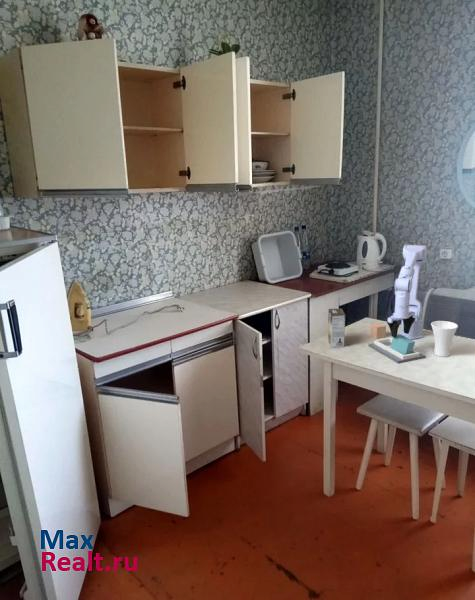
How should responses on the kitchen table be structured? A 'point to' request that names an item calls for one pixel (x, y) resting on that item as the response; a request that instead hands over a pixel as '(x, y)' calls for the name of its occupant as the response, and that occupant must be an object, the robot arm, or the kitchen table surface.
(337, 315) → the coffee box
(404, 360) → the shape board
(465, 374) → the kitchen table surface
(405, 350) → the teal bar
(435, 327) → the cup
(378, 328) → the terracotta block
